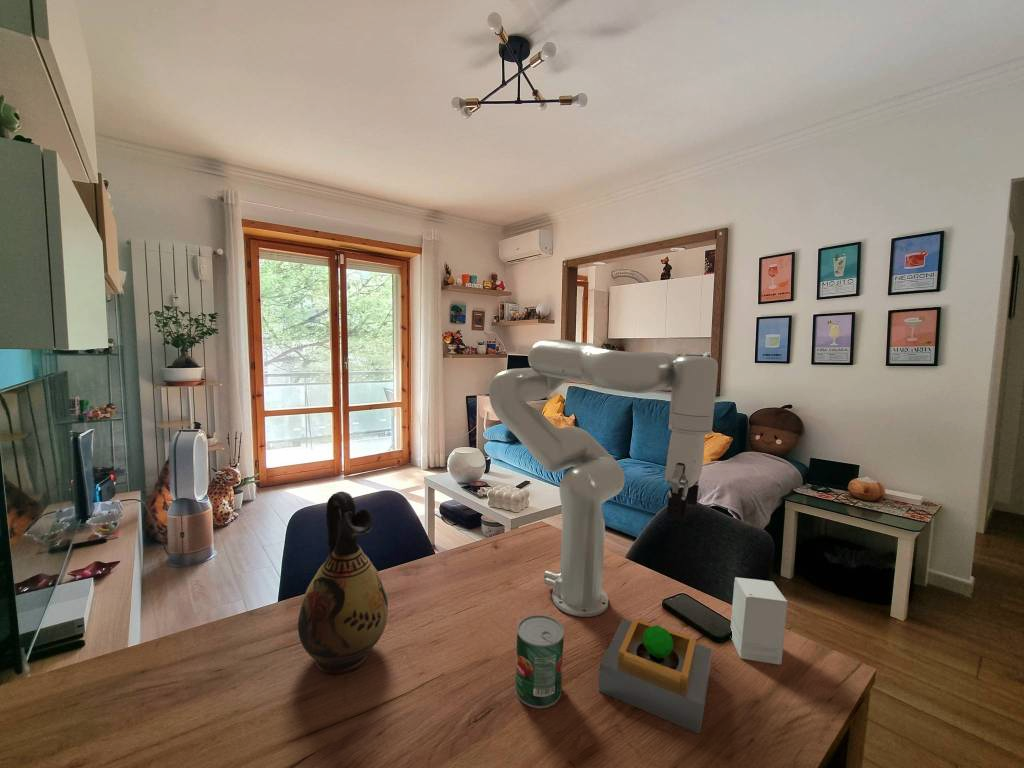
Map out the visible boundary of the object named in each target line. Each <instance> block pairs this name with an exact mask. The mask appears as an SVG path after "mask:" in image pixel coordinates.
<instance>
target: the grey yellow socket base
mask: <svg viewBox="0 0 1024 768" xmlns="http://www.w3.org/2000/svg"><path fill="white" fill-rule="evenodd" d="M656 625H657V624H654V623H651V622H648V621H645V620H641V619H638V620H637V619H633V620H632V621H629V620H627V619H624V618H622V619H621V622H620V623H619V625H618V628H617V630H616V631H615V632H614V635H613V637H612V640H611V641H610V644H609V646H608V647H607V649H606V651H605V653H604V656H603V657H602V659H601V661H600V663H599V677H598V692H599V693H602V694H604V695H606V696H609V697H612V698H614V699H616V700H618V701H620V702H623V703H625V704H628V705H629V706H633V707H634V708H637V709H640V710H642V711H643V712H646V713H649V714H651V715H654V716H655V717H659V718H661V719H663V720H665V721H668V722H670V723H672V724H674V725H677V726H680V727H682V728H683V729H687V730H689V731H691V732H693V733H696V734H698V735H701V731H702V724H703V718H704V711H705V704H706V698H707V692H708V686H709V679H710V671H711V658H712V648H710V647H707V646H704V645H701V644H698V643H697V640H696V639H694V638H692V637H691V636H690V635H687V634H685V633H684V634H683V633H682V632H678V631H675V630H671V629H669V628H667V627H663V626H661V627H662V628H664V629H665V630H667V631H668V632H669V634H670V635H671V637H672V640H673V649H672V652H671V653H670V654H669V656H667V657H664V658H659V659H658V658H656V657H655V656H653V655H651V654H650V653H648V652H647V650H646V648H645V646H644V644H643V634H644V632H645V631H646V629H647V628H648V627H652V626H656Z"/></svg>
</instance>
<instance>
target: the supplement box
mask: <svg viewBox="0 0 1024 768" xmlns="http://www.w3.org/2000/svg"><path fill="white" fill-rule="evenodd" d="M731 607H732V609H731V618H730V620H731V621H730V628H731V631H732V638H731V641H732V643H733V645H734V647H735V650H736V652H737V653H738V655H739V658H740V659H742V660H748V661H755V662H760V663H766V664H774V665H782V663H783V661H782V660H783V652H784V642H785V641H784V640H785V630H786V620H787V611H788V600H787V599H786V597H785V596H784V595H783V594H782V592H781V590H779V588H778V587H777V585H776V584H775V582H774V581H771V580H763V579H756V578H745V577H737V576H736V577H734V582H733V595H732V606H731Z"/></svg>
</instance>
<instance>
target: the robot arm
mask: <svg viewBox="0 0 1024 768" xmlns="http://www.w3.org/2000/svg"><path fill="white" fill-rule="evenodd" d="M527 361H528V364H529V366H530V367H523V368H520V367H519V368H510V369H506V370H502V371H500V372H498V373H497V374H496V375H495V376H493V378H492V380H491V382H490V383H489V389H488V390H489V391H488V396H489V403H490V405H491V408H492V411H493V413H494V414H495V416H496V417H497V418H498V420H499V421H500V422H501V424H502V425H504V426H505V427H506V428H507V429H508V430H509V431H510V432H511V433H512V434H513V435H514V436H515V437H516V438H517V439H518V440H519V442H520V443H521V444H522V445H523V447H524V448H525V449H526V450H527V451H528V453H530V455H531V456H532V457H533V458H534V459H535V460H536V461H537V462H538V464H539V465H540V466H542V468H544V469H545V470H547V471H548V472H550V473H551V472H552V473H556V472H560V471H561V472H562V471H565V470H566V469H569V468H570V469H569V470H567V471H566V472H565V473H564V475H563V476H562V477H561V480H560V483H559V489H558V490H559V499H560V505H561V543H560V545H561V547H560V564H559V565H560V567H559V572H558V573H555V572H553V571H550V570H547V569H546V570H545V572H544V575H543V577H544V584H545V585H548V586H552V587H553V590H552V595H551V596H552V601H553V604H554V605H555V606H556V607H557V608H558V609H559V610H561V611H562V612H564V613H566V614H568V615H571V616H575V617H579V618H580V617H581V618H585V617H586V618H590V617H595V616H599V615H600V614H602V613H605V611H606V610H607V609H608V606H609V597H608V594H607V593H606V591H604V589H603V573H604V559H605V539H606V538H605V534H606V524H605V518H604V515H603V510H602V506H603V504H604V503H605V502H607V501H608V500H610V499H612V498H614V497H616V496H617V495H618V494H620V493H621V492H622V490H623V488H624V486H625V482H626V478H625V473H624V470H623V469H622V466H621V465H620V464H619V462H618V461H617V460H616V459H615V458H614V457H613V456H612V455H611V454H610V453H609V452H608V451H607V450H606V449H605V448H604V447H603V446H602V445H601V444H600V442H598V441H597V440H596V438H594V437H593V436H592V434H591V433H589V432H587V431H586V430H584V429H582V428H581V427H578V426H565V427H562V428H561V427H560V428H559V427H557V426H556V425H555V424H553V423H552V422H551V421H550V420H549V419H548V418H547V416H545V415H544V413H542V412H541V411H540V410H538V409H537V408H534V407H533V406H531V405H530V404H528V402H533V401H539V400H542V399H545V398H547V397H549V396H550V395H551V394H552V393H554V392H555V391H556V390H557V389H558V388H560V387H561V386H562V385H563V384H564V383H565V382H567V381H575V382H580V383H587V384H589V385H593V386H596V387H598V388H603V389H608V390H614V391H619V392H625V393H633V394H647V393H651V392H658V391H659V392H660V391H666V390H667V391H668V390H669V391H670V390H671V391H670V392H671V393H670V394H671V395H670V406H669V418H668V419H669V420H668V427H667V428H668V429H669V430H670V431H671V434H670V439H669V443H668V444H669V445H668V450H667V458H666V465H665V472H664V473H665V475H664V481H665V483H666V484H669V483H670V484H671V485H670V487H669V491H668V497H667V510H666V511H667V512H666V517H667V518H668V519H671V520H674V521H678V522H685V521H686V520H687V512H688V511H687V510H688V504H689V505H692V506H696V505H697V504H698V496H699V486H700V485H699V479H700V478H701V475H702V470H703V466H704V465H703V464H704V455H705V444H706V443H705V441H706V435H710V434H712V433H713V425H714V424H713V421H714V411H715V405H716V404H715V403H716V393H717V392H716V391H717V383H718V382H717V381H718V372H719V371H718V370H719V364H718V361H717V360H716V359H715V358H713V357H710V356H702V355H701V356H700V355H677V354H672V353H669V352H661V351H660V352H659V351H658V352H657V351H655V352H650V351H649V352H647V351H646V352H635V351H634V352H633V351H623V350H614V349H607V348H600V346H599V345H598V344H597V343H596V344H595V343H589V342H577V341H571V340H568V339H544V340H539V341H538V342H536V343H534V344H533V345H532V346H531V348H530V350H529V351H528V354H527Z"/></svg>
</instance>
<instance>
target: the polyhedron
mask: <svg viewBox="0 0 1024 768" xmlns="http://www.w3.org/2000/svg"><path fill="white" fill-rule="evenodd" d="M655 625H656V626H652V627H648V628H647V629H646V631H645V632H644V634H643V644H644V646H645V648H646V650H647V652H648V653H650V654H651V655H653V656H655V657H656V658H658V659H659V658H664V657H667V656H669V654H670V653H671V652H672V649H673V640H672V637H671V635H670V634H669V632H668V631H667V630H665V629H664V628H665V627H663V626H661V625H657V624H655ZM662 627H663V628H662Z"/></svg>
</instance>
